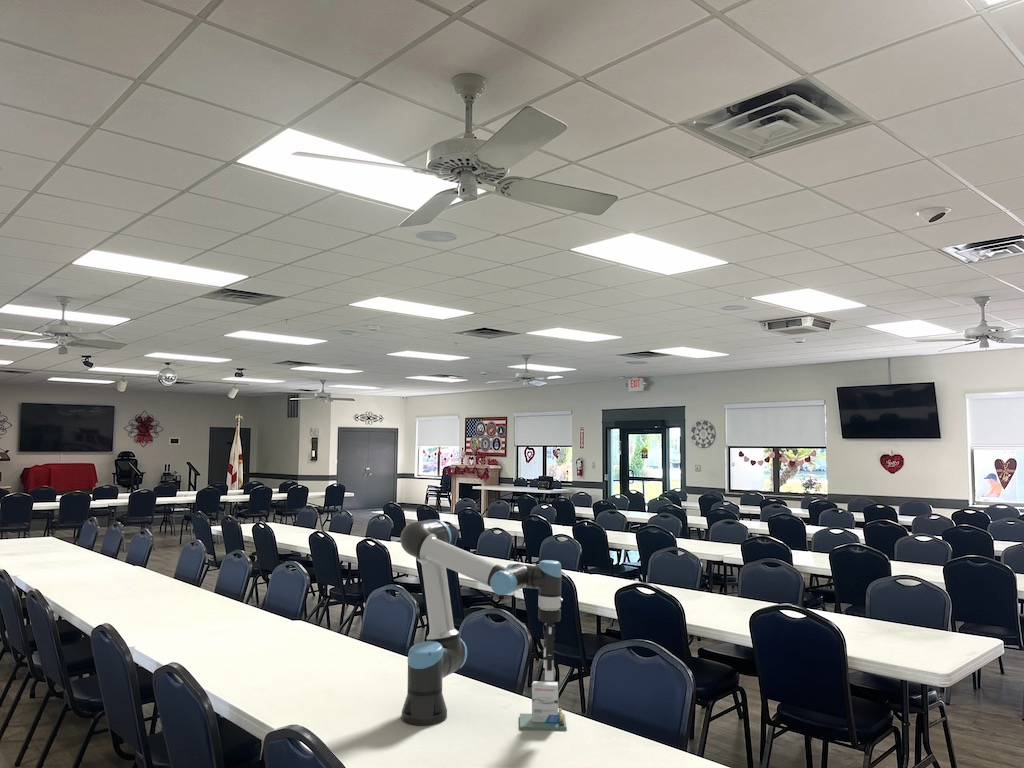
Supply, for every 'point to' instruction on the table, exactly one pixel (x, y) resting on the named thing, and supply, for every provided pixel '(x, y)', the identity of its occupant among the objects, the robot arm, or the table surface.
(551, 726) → the header board
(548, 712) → the ink box
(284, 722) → the table surface
